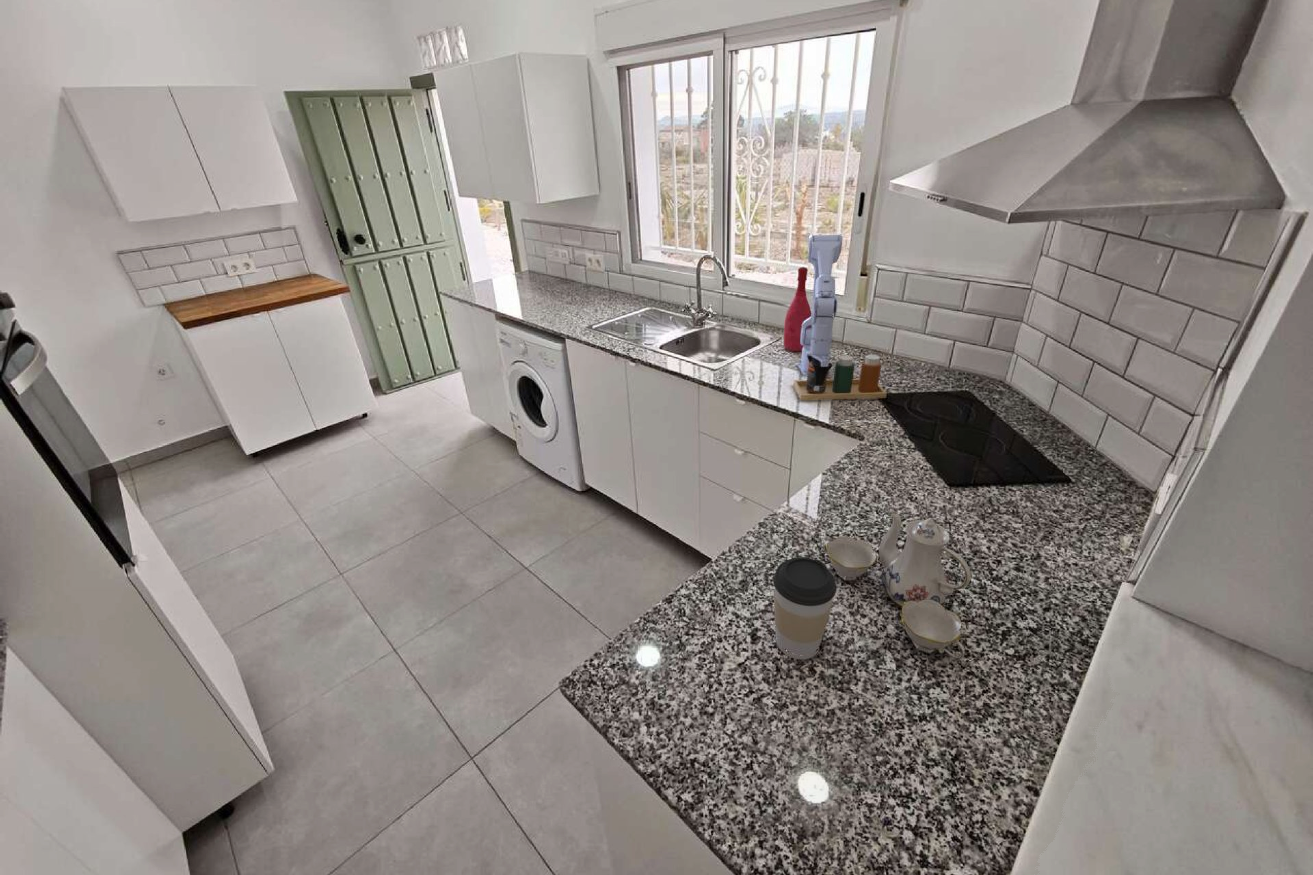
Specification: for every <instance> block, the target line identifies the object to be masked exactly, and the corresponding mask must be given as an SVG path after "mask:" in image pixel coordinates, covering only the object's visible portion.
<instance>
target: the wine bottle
mask: <svg viewBox="0 0 1313 875" xmlns="http://www.w3.org/2000/svg"><path fill="white" fill-rule="evenodd" d="M807 276H808V268H807V267H806V266H801V267H798V269H797V287H796V291H795V294H794V297H793V299H792V301H791V302H790V304H789V307H788V309H787V311H786V314H785V320H784V329H783V347H784V348H785V349H786V350H787V351H791V352H802V349H803V346H804V345H801V343H800V339H801V329H802V323H803V322H804V321H805V320H806V319H808V318H809V317H811V312H812V308H811V306H810V303H809V300H808V297H807V290H806V282H807V280H808V277H807ZM807 327H813V325H809V326H807Z"/></svg>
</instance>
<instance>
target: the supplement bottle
mask: <svg viewBox="0 0 1313 875" xmlns="http://www.w3.org/2000/svg"><path fill="white" fill-rule="evenodd" d="M812 360H813V361H811V362H810V363H809V366H808V375H806V380H807V384H806V390H807V391H808V392H811V393H815V394H819V393H823V392H824V391H825V389H826V382H827V380H828V375H829V372H828V373H827V375H826V378H825V380H824V383H823V385H816V384H815V372H814V368H813V365H812V363H814V362H819V360H817V359H815V358H814V357H813V358H812Z"/></svg>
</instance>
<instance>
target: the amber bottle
mask: <svg viewBox="0 0 1313 875" xmlns="http://www.w3.org/2000/svg"><path fill="white" fill-rule="evenodd" d="M880 359H881V357H880V356H879V355H878V354H877V355H876V354H867V355H865V358H864V360H863V361H862V362H861V367H860V373H859V378H858V379H859V386H858V391H860V392H861V393H876V392H877V389H878V383H879V384H880V382H879V381H880V377H881V372H882V371H881V370H882V362H880Z"/></svg>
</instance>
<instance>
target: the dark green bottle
mask: <svg viewBox="0 0 1313 875" xmlns="http://www.w3.org/2000/svg"><path fill="white" fill-rule="evenodd" d="M853 360H854V359H853V357H852V356H851V355H846V354H845V355H840V356H839V357H838V361H836V362H835V364H834V372H833V379H832V380H833V387H832V391H833V392H834V393H851V387H852V380H853V379H854V373H855V366H856V363H855V362H853Z"/></svg>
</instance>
